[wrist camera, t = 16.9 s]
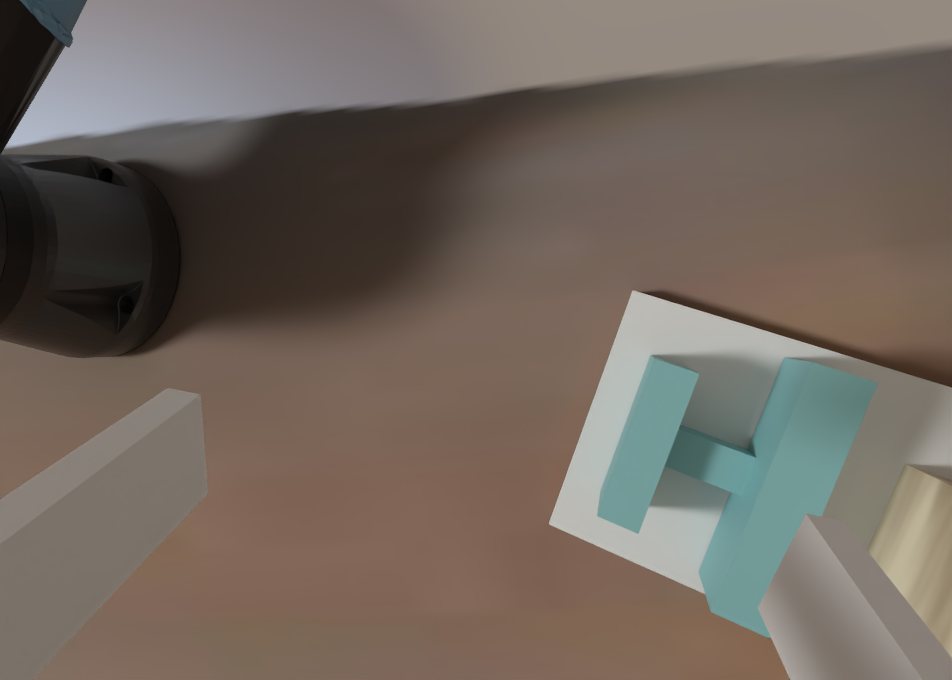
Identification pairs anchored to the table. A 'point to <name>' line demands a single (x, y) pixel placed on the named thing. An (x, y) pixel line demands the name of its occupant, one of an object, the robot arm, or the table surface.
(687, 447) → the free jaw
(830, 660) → the robot arm
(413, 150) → the table surface
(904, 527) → the birch block
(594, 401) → the bed
